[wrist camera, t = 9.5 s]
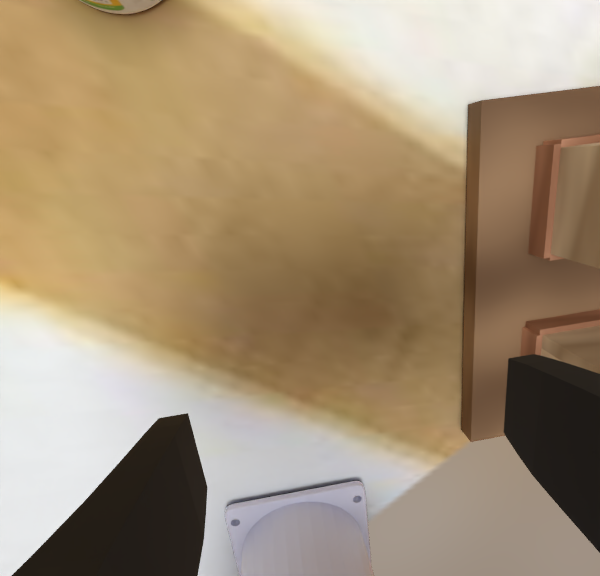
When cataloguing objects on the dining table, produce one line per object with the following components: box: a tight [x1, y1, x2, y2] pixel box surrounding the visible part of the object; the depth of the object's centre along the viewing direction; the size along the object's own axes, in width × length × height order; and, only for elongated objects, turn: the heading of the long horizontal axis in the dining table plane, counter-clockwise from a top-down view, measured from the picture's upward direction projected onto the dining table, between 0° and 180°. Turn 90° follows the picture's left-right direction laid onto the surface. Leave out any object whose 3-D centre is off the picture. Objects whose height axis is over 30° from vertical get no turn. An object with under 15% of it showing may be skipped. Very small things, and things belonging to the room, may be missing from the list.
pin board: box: [461, 86, 600, 442], centre depth 17 cm, size 17×10×4 cm, turn 7°
